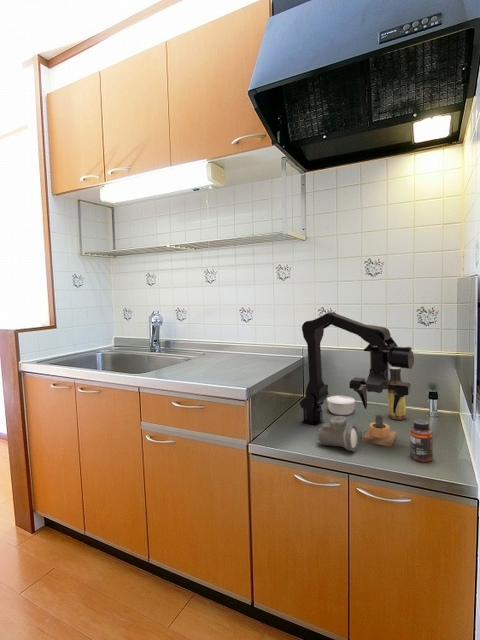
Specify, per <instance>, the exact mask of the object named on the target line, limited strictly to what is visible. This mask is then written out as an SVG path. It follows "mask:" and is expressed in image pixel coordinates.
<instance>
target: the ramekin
mask: <svg viewBox="0 0 480 640" xmlns="http://www.w3.org/2000/svg"><path fill="white" fill-rule="evenodd" d="M326 402H327V405H328V410H329V411H330V412H331V413H332V414H334V415H335V416H349V415H351V414H352V413H354V409H355V404H356V400H355V398H353V397H351V396H346V395H331V396H328V397H327V399H326Z"/></svg>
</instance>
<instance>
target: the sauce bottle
mask: <svg viewBox="0 0 480 640" xmlns="http://www.w3.org/2000/svg"><path fill="white" fill-rule="evenodd" d="M401 372H402V368H399V367H392V366H389V380H390V384H397V382H403V381H402V375H401ZM395 393H396V392H395V390H389V389H387V407H388V408H387V409H388V410H387V411H388V417H389V418H390V419H392V420H397V421H402V420H405V419H406V414H407V411H406V410H407V409H406V395H405V396H404V397H401V399H400V401H399V403H398V406H397V409H396V411H395V413H393V406H394V394H395Z"/></svg>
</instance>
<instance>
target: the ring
mask: <svg viewBox="0 0 480 640" xmlns="http://www.w3.org/2000/svg"><path fill="white" fill-rule="evenodd" d="M368 429H369V434H370V435H371V436H372V437H376V438H388V437H389V435H390V431H391V427H390V425H388V424H387V423H385V422H383V428H376V421H375V422H370V424H369V425H368Z"/></svg>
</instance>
